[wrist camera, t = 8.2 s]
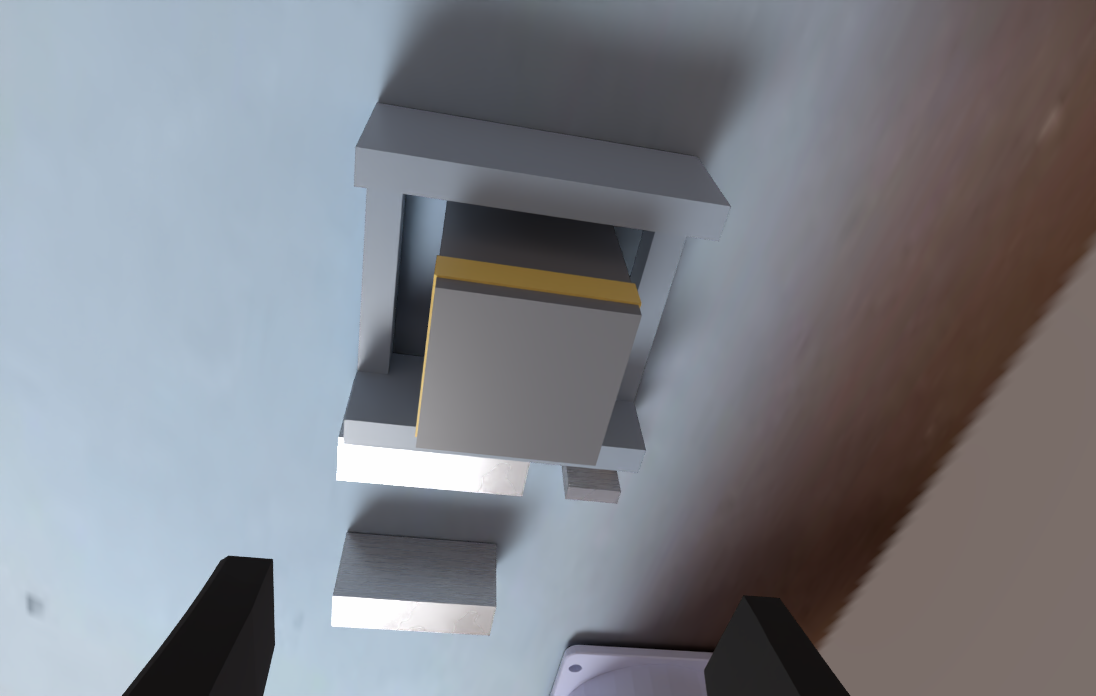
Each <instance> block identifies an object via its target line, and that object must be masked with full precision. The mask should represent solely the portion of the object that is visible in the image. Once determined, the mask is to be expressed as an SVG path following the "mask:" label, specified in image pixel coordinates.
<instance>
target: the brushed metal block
mask: <svg viewBox="0 0 1096 696" xmlns="http://www.w3.org/2000/svg"><path fill="white" fill-rule="evenodd" d="M354 382H355V379H354ZM354 382H353V385H352V389H353V386H354ZM352 389H351V393H352ZM351 393H350V397H351ZM350 397H349V400H350ZM349 400H348V404H349ZM348 404H347V408H348ZM347 408H346V411H345V415H346V412H347ZM345 415H344V419H345ZM344 419H343V423H342V426H341V430H340V434H339V437H338V463H337V480H344V481H355V482H366V483H377V484H388V485H399V486H411V487H422V488H433V489H444V490H455V491H466V492H477V493H489V494H500V495H511V496H522V495H523V490H524V486H525V482H526V477H527V473H528V469H529V465H530V462H521V461H511V460H500V459H490V458H480V457H469V456H459V455H449V454H439V453H428V452H418V451H408V450H397V449H387V448H377V447H366V446H356V445H346V444H343V441H344ZM495 610H496V544H487V543H475V542H462V541H449V540H437V539H424V538H411V537H399V536H386V535H373V534H361V533H348V532H347V533H346V538H345V542H344V547H343V552H342V556H341V561H340V565H339V570H338V574H337V579H336V583H335V588H334V592H333V602H332V626H337V627H354V628H371V629H387V630H404V631H421V632H438V633H455V634H472V635H489V636H490V631H491V627H492V623H493V618H494V614H495Z"/></svg>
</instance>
